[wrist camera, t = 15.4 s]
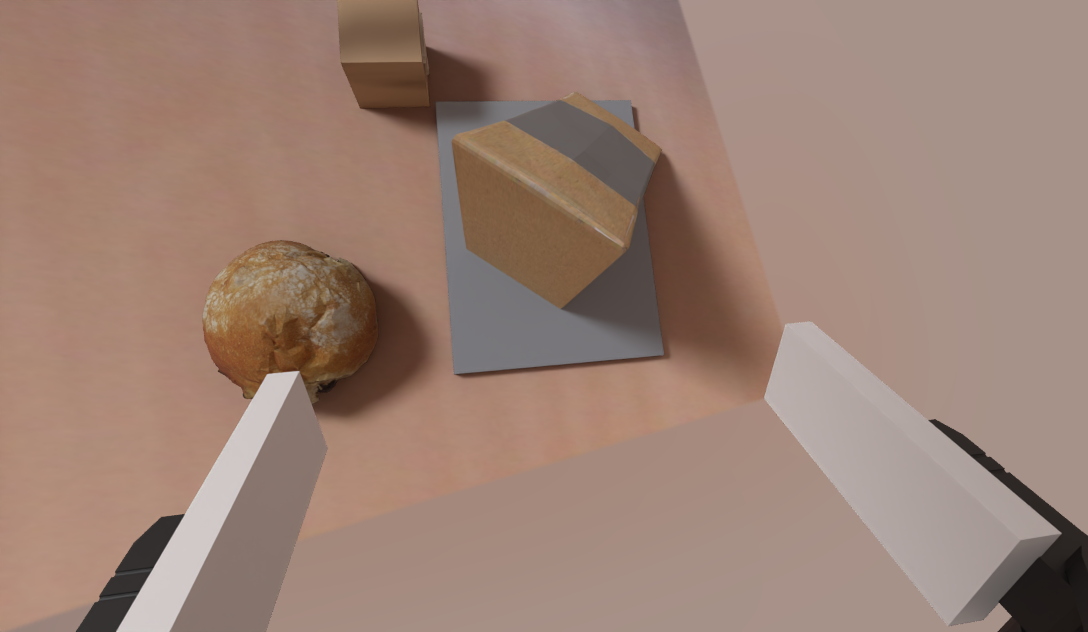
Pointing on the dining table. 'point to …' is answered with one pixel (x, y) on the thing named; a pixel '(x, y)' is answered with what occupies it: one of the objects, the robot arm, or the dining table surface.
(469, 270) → the grey rubber mat
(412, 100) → the wooden letter cube
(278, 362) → the bread roll
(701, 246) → the dining table surface
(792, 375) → the robot arm
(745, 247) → the dining table surface
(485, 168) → the sandwich container
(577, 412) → the dining table surface
